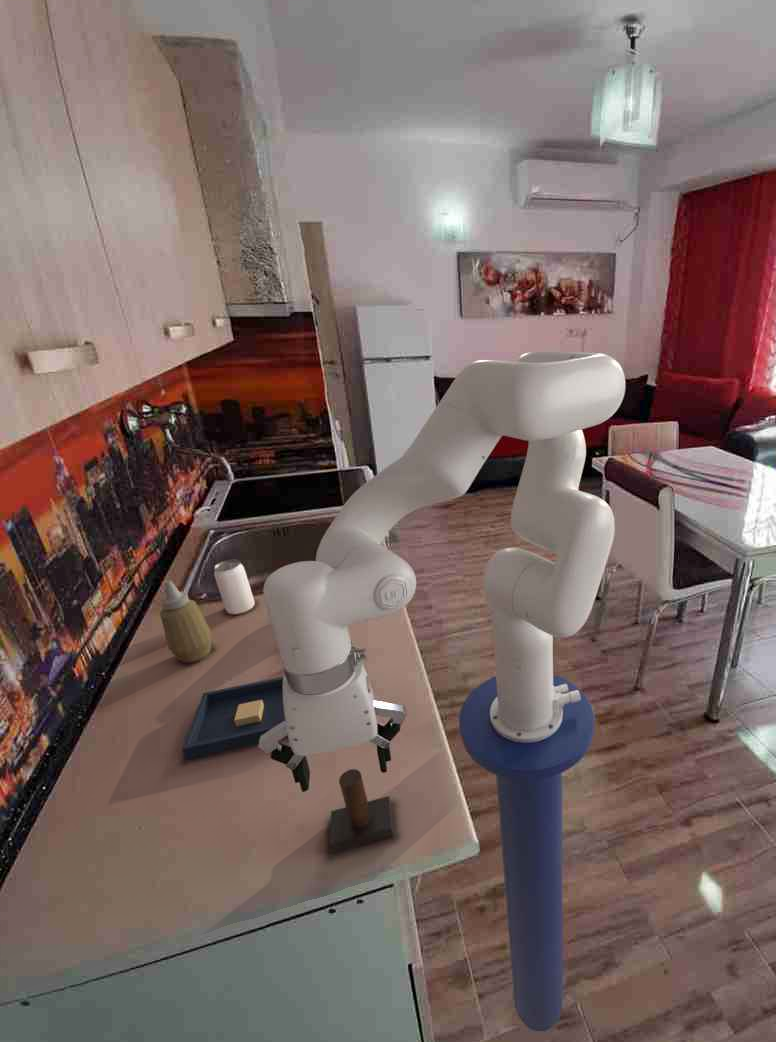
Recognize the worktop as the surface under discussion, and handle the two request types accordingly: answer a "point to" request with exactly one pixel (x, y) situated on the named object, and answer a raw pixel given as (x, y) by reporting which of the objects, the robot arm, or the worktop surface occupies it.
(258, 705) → the yellow square block
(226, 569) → the can
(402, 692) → the worktop surface
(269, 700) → the tray
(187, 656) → the squeeze bottle
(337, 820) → the stamp with brown handle
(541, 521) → the robot arm
